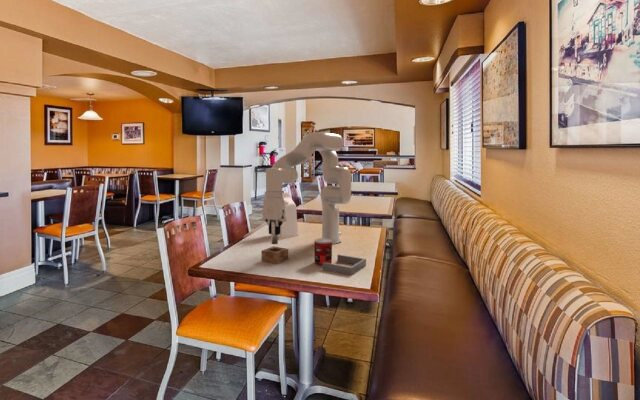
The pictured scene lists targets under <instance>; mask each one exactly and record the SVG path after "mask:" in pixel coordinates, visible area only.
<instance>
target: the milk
mask: <svg viewBox="0 0 640 400" xmlns="http://www.w3.org/2000/svg"><path fill="white" fill-rule="evenodd" d="M282 198H284V204H285V217H286V220H287V221H286V222H284V223H283V224H282V225H281V226H280V230H281V232H280V234H279V235H278V239H279V240H280V239H281V240H283V239H287V238H293V237H298V236H299V235H298V234H299V233H298V231H299V230H298V217H297V216H298V214H297V213H298V212H297V205H296V203H295V202H294V200H293V199H292V198H291V196H290V194H289V192H282ZM281 220H282V219H281ZM269 235H270V237H271V234H269Z"/></svg>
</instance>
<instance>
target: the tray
mask: <svg viewBox="0 0 640 400" xmlns="http://www.w3.org/2000/svg"><path fill="white" fill-rule="evenodd" d="M337 262H339V263H346V264H350V265H351V264H352V265H351V266H347V265H341V264H336V263H335V264H334V263H325V262H323V263H322V266H321V267H322V268H321V269H322V271H323V270H324V271H329V272H334V273H339V274H343V275H344V274H345V275H349V276H352V275H354V274H355V273H357V272H358V271H360V270H361V269H363V268H364V267H366V266H367V259H366V258H363V257H362V258H361V257H356V256H351V255H350V256H349V255H343V254H337Z"/></svg>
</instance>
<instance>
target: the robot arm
mask: <svg viewBox="0 0 640 400" xmlns="http://www.w3.org/2000/svg"><path fill="white" fill-rule="evenodd" d="M344 142H345V141H344V138H343V137H342V136H341V135H339V134H338V133H337V134H336V133H331V132H326V131H325V132H324V131H323V132H321V131H320V132H319V131H318V132H317V131H316V132H315V131H314V132H308V133H307V134H305V135H304V137H303V138H302V139H301V140H300V142H299V143H298V144H297V145H296V147H294V149H292V150H291V151H290V152H287V153H286V154H285V155H283V156H281V157H280V158H278V159H277V161H275V162H274V164H272V166H271V167H268V168H267V169H266V170H265V191H264V195H265V197H264V199H263V205H262V220H264V221H265V222H266V224H267V226H268V234H269V235H270V234H271V220H276V226H275V235H279V234H280V232H281V230H280V226H281V225H282V224H283V223H284V222H286V221H287V220H286V217H285V204H284V198H282V193H283V184H293V183H295V182H296V181H297V179H298V176H299V173H298V171H297V170H296V169H295V168H294V167H295V166H298V165H302V164H305V163H307V162H308V161H309V159H310V158H311V156H312V155H313V153H314V152H315V151H316V150H317V151H318V152H319V154H320V155H321V157H322V178H323V181H324V182H325V183H327V184H333V185H326V186H324V187H322V188H321V190H320V193H319V194H320V200H321V210H322V211H321V212H322V213H321V215H322V216H321V217H322V218H321V220H322V221H321V225H322V228H321V230H322V233H321V238H327V239H331V240H332V245H333V244H340V243H342V238H340V236H341V235H342V232H341V231H340V210H339V207H338V205H347V204H349V203H350V202H351V199H352V174H351V171H350V169H349V168H348V167H346V166H340V165H339V156H338V153H337V152H340V151H341V150H342V149H343V147H344ZM334 184H335V185H334ZM338 185H339V186H338ZM281 219H282V220H281Z"/></svg>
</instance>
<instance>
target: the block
mask: <svg viewBox="0 0 640 400" xmlns="http://www.w3.org/2000/svg"><path fill="white" fill-rule="evenodd" d="M260 252H261V254H260V255H261V262H265V263H271V264H274V265H278V264H281V263H283V262H285V261H287V260H289V259H290V257H289V248H287V247H286V248H284V247H280V246H279V247H278V246H270V247H267V248H264V249H263V250H261V251H260Z"/></svg>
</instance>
